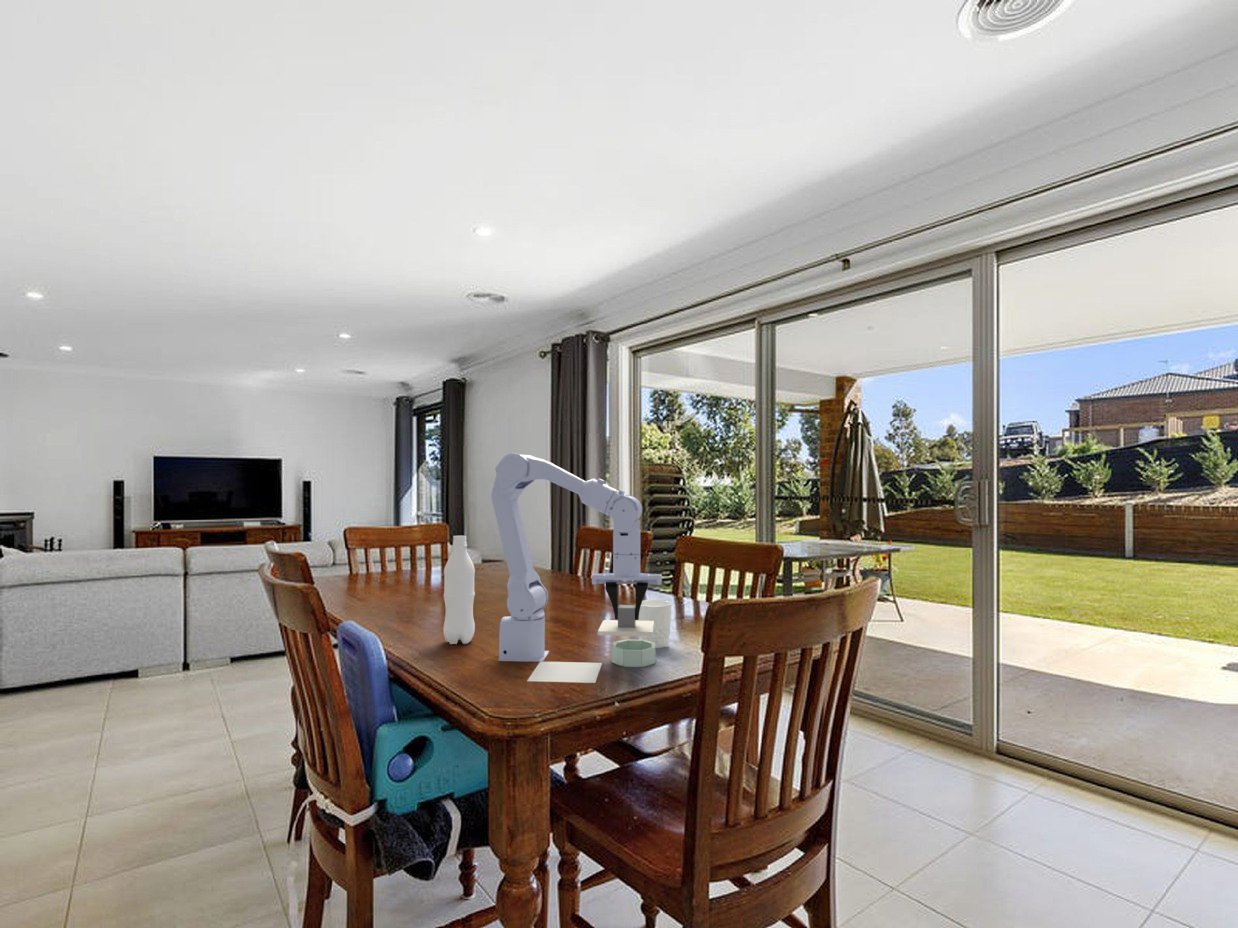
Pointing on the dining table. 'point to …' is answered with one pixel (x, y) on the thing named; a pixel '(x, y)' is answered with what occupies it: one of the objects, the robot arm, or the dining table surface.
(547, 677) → the cream square tray
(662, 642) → the white cup
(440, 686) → the dining table surface
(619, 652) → the bowl
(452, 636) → the water bottle
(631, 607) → the lid
